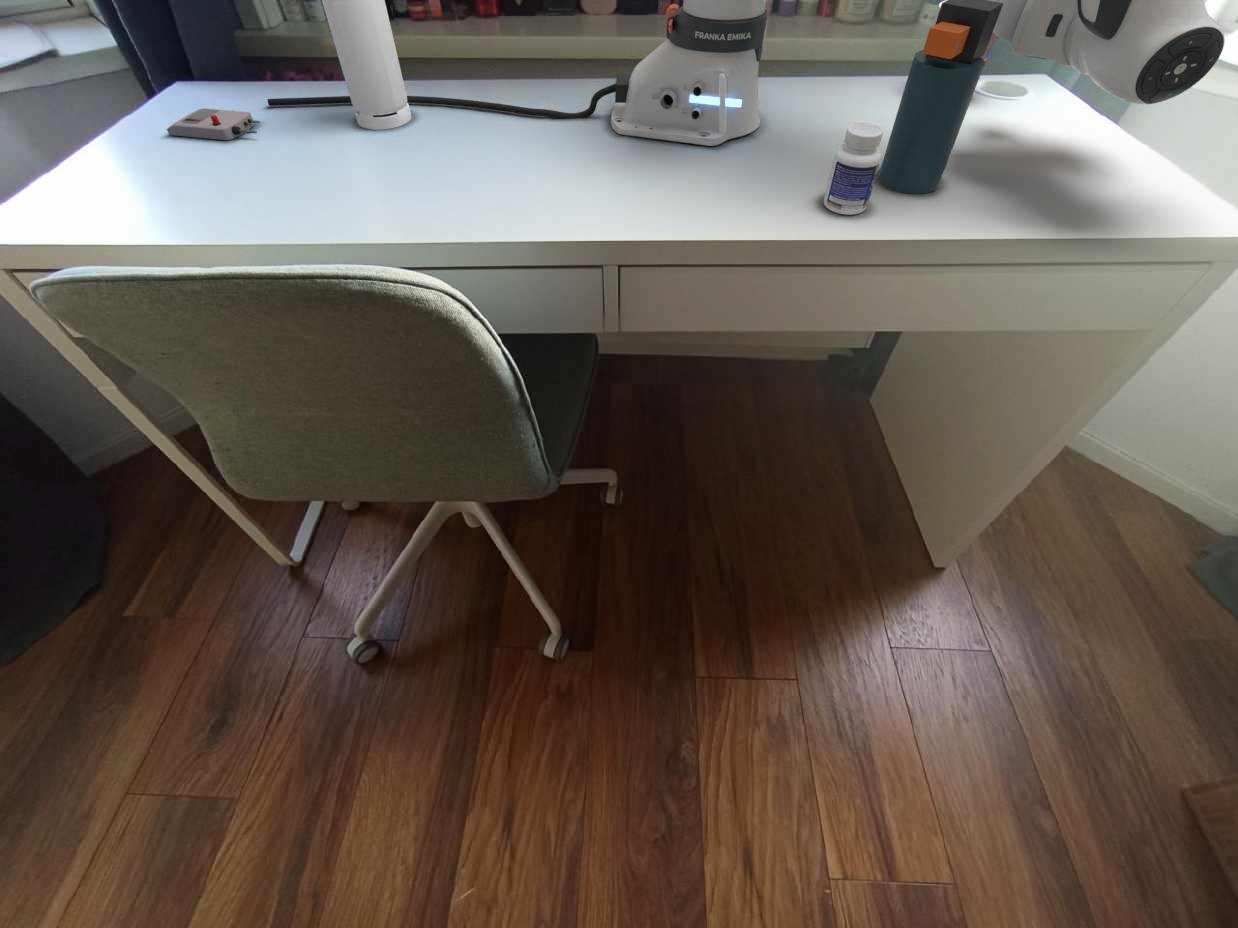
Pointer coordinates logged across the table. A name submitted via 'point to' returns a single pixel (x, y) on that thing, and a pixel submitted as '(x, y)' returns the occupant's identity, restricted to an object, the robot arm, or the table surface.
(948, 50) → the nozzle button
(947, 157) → the sports bottle
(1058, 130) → the table surface
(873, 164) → the pill bottle
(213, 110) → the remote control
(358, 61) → the bottle
